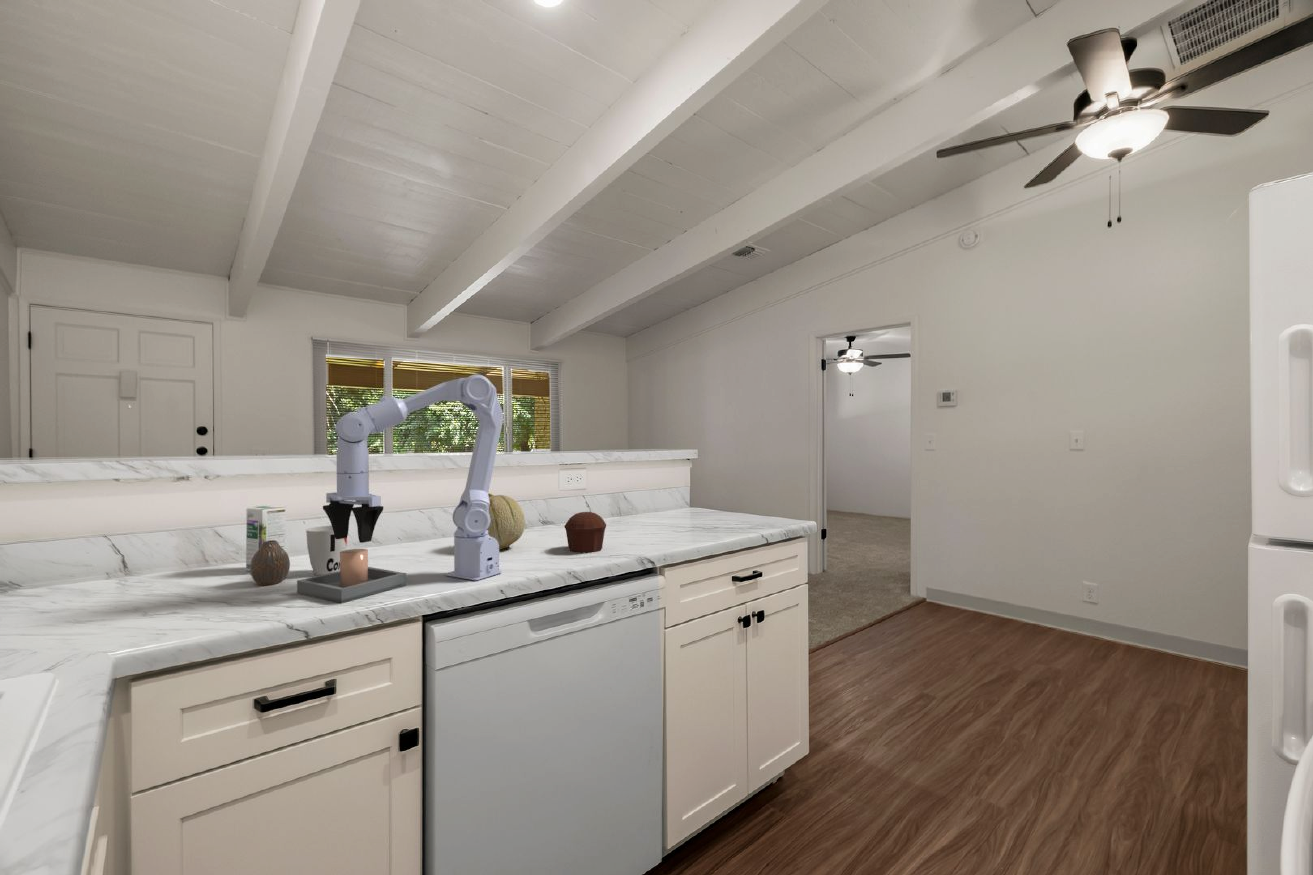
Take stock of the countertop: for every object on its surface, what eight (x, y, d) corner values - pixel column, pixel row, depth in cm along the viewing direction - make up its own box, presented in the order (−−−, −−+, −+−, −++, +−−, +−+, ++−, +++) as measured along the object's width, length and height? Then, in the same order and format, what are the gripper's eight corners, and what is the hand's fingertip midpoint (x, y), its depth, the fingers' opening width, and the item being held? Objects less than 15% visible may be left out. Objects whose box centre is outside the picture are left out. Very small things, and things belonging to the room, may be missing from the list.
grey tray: (406, 585, 118) (406, 573, 118) (341, 603, 106) (341, 589, 106) (362, 577, 124) (362, 565, 124) (297, 593, 112) (296, 580, 112)
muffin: (577, 544, 161) (577, 509, 161) (613, 547, 158) (613, 510, 157) (556, 552, 150) (556, 514, 150) (594, 555, 146) (594, 516, 146)
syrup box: (244, 571, 130) (244, 507, 130) (270, 565, 135) (270, 504, 135) (261, 573, 128) (261, 508, 127) (287, 567, 133) (286, 505, 133)
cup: (329, 577, 124) (329, 531, 124) (297, 575, 126) (297, 530, 125) (356, 569, 132) (355, 525, 132) (325, 567, 134) (325, 524, 133)
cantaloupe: (517, 554, 148) (517, 496, 148) (461, 554, 148) (461, 496, 148) (530, 543, 163) (530, 490, 162) (479, 543, 163) (479, 490, 163)
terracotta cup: (373, 584, 116) (373, 549, 116) (351, 590, 112) (351, 554, 112) (356, 581, 119) (356, 547, 119) (334, 587, 114) (334, 552, 114)
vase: (297, 580, 122) (297, 539, 122) (263, 588, 115) (263, 545, 115) (277, 577, 125) (276, 537, 124) (242, 584, 118) (242, 542, 118)
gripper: (311, 472, 115) (311, 540, 115) (357, 475, 108) (357, 547, 108) (344, 470, 121) (344, 534, 121) (390, 473, 114) (390, 540, 114)
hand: (353, 540), depth 115 cm, fingers open, 7 cm apart
